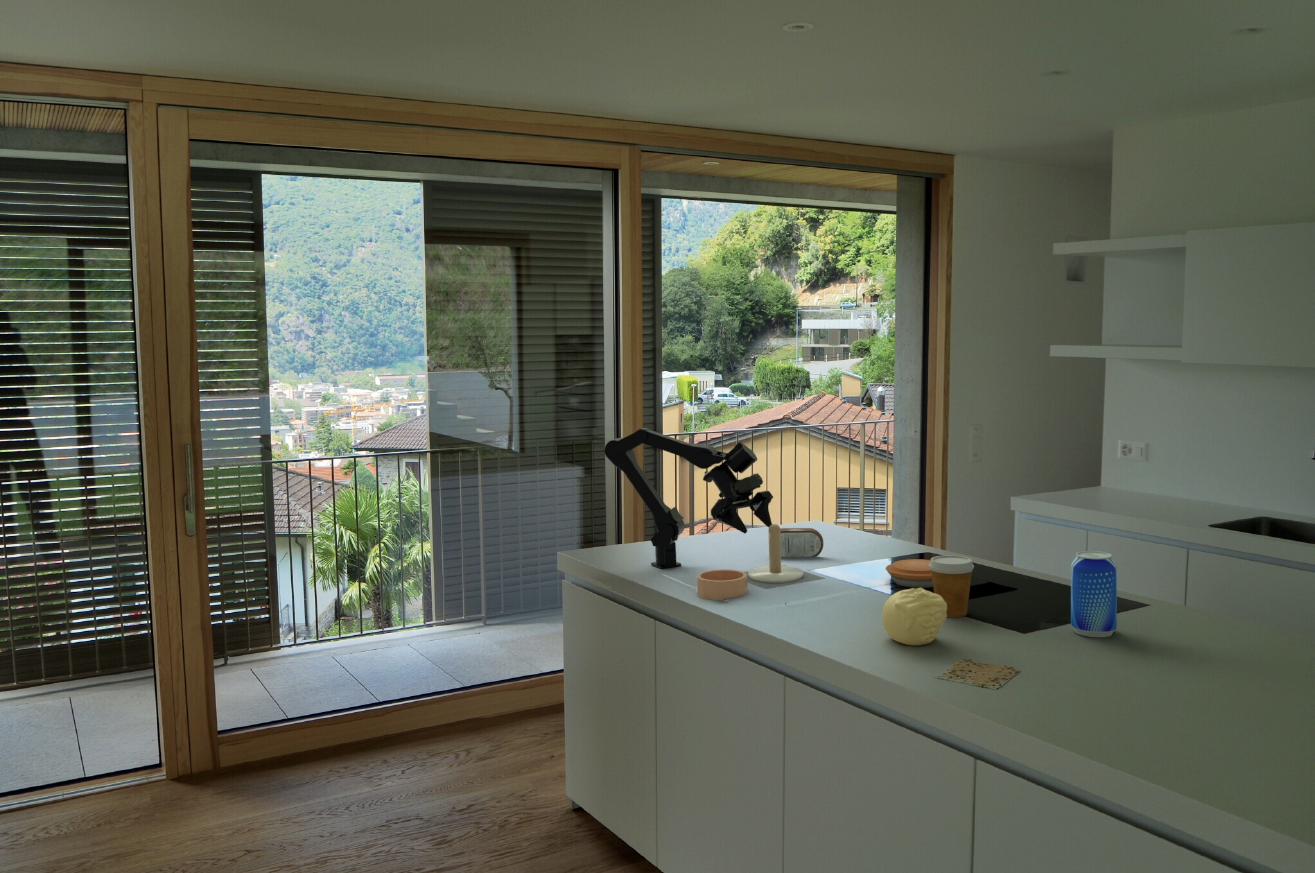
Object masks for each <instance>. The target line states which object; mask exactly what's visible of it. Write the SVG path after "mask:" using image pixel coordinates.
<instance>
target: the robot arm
mask: <svg viewBox="0 0 1315 873" xmlns="http://www.w3.org/2000/svg"><path fill="white" fill-rule="evenodd" d="M643 444H644V445H647V446H649V447H653V448H656V449H659V450H661V451H664V452H667V453H670V454H673V455H676V456H679V457H681V458H683V459H684V460H685V461H687V462H688V463H690V464H691V465H693V466H695V467H696V468H698V469H702V470H705V471H704V474H703V477H702V481H704V482H707V483H709V484H710V483H712V482H713V483H714V485H715V486H716V487H717V489H718V491H719V492H720V493H719V494H718V499H717V501H716V502H715V503H714V505H713V506H712V507H711V509H710V516H711V517H712V519H713V520H714V521H717V520H718V521H719V522H722V523H725V524H727V525H728V526H731V527H732V528H734V529H736V530H738V531H739V532H741V533H742V534H747V532H748V529H747V527H746V525H745V523H744V522H743V520H742V518H741V517H740V515H739V514H738V513H739V512H738V510H740V509H745V508H746V509H747V508H749V509H750V510H751V511H753V513H752V514H753V515H754V516H755V517H757V519H759V521H760V522H762V523H763V524H764V525H765V526H766V528H767V527H768V528H769V526H770V525H772V524H773V523H772V518H771V516H770V510H769V509H770V508H769V505H770V503H772V500H773V498H774V496H773V495H772V492H770V490H763V491H762V490H761V491H757V492H756V493H755V494H754V496H753V497H752V495H753V493H754V491H755V490H756V489H759V488H761V485H763V484H764V481H763V478H762V476H761V475H760V474H759V473H753V474H751V475H750V476H747V477H744V478H740V479H738V478H737V477H736V475H735V474H737V473H739V474H743V473H744V472H746V470H747V469H749V468H750V467H751V466H752V465H754V464H755V463H756V462H757V461H758V457H757V455H756V454H755V452H754V450H752V449H751V448H749V447H748V446H747V445H746V444H744V443H743V442H742V441H738V443H736V444H735V445H734V447H733V448H731V450H730V451H728V452H725V451H720V450H717V448H716V447H715V446H713V445H708V444H702V443H693V442H692V443H691V442H687V441H683V440H682V439H681V440H680V439H677V438H675V437H671V436H669V435H666V434H663V433H660V432H658V431H655V430H651V429H650V428H649V427H642V428H639V429H637V430H636V431H635V432H633V433H631V434H628V435H627V436H625V437H618V438H615V439H612V440H609V441H607V443H606V444H605V446H604V450H603V452H604V455H605V457H606V458H607V459H608V460H609V461H610V462H611V463H612V464H613V465H614V466H615V467H616V468H617V469H619V470H621V472H623V473H624V475H625V476H626V478H627V479H628V480H629V483H631V485H632V486H633V488H634V489H635V491H636V492H637V494H638V495H639V497H640V498H641V499H642V501H643V503H644V504H645V505H646V507H647V509H648V510H649V512H650V513H651V514H652V517H653V522H654V525H655V528H656V530H657V532H656V533H655V534H654V535H653V536H652V537H651V538H650V542H651V545H652V546H653V547H654V548H655V552H654V554H655V561H654V562H653V561H652V562H650V565H652V566H654V567H657V568H658V569H667V568H673V567H679V566H680V567H681V566H682V563H681V562H679V561H677V547H676V545H677V544H676V541H678V539H679V536H680V535H682V534H683V533H684V530H685V526H686V525H685V522H684V518H685V517H684V516H682V514H680V512H679V510H678V508H677V507H676V506H674V507H671V508H670V507H669V506H668V505H667V504H665V502H664V500H663V499H662V498H661V496H660V494H659V493H658V492H657V490H656V489H655V487H654V486H653V485H652V482H651V481H650V479H648V477H647V476H646V474H645V472H644V471H643V470H642V468H641V467H640V466H639V464H638V461H637V458H636V454H635V453H636V452H635V451H634V449H635V448H637V447H639V446H642V445H643ZM718 464H719V465H718ZM714 465H715V466H714ZM712 466H714V467H713V468H711V469H710V470H709V471H706V469H709V468H710V467H712ZM734 473H735V474H734ZM750 497H751V498H750Z"/></svg>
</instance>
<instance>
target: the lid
mask: <svg viewBox="0 0 1315 873" xmlns="http://www.w3.org/2000/svg"><path fill="white" fill-rule="evenodd" d="M780 529H781V528H780V526H779V524H777V523H772V525H770V526H769V527H768V562H769V565H765V566H759V567H754V568H752V569H749V570H748V577H749V579H751V580H753V581H757V582H763V583H786V582H793V581H797V580H800V579H802V578H803V571H804V570H802V569H801V568H799V567H795V566H790V565H786V566H782V557H781V539H780Z"/></svg>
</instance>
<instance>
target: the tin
mask: <svg viewBox="0 0 1315 873" xmlns="http://www.w3.org/2000/svg"><path fill="white" fill-rule="evenodd" d="M780 539H781V558H816V557H819V555H820V554H821V553H822V551H823V549H824V538H823V536H822V534H821V533H820V532H819V531H818V530H816V529H815V528H812V527H811V528H810V527H800V528H799V527H798V528H797V527H791V528H789V527H788V528H787V527H785V528H784V527H783V528H780Z"/></svg>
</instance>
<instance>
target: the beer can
mask: <svg viewBox="0 0 1315 873" xmlns="http://www.w3.org/2000/svg"><path fill="white" fill-rule="evenodd" d="M1075 555H1076V556H1075V558H1074V559H1073V560H1072V562H1071V564H1070V626H1071V627H1072V629H1073V630H1074V632H1075V633H1076V634H1077V635H1080V636H1084V637H1089V638H1090V637H1091V638H1107V637H1111V636H1112V635H1113V633H1114V632H1115V631H1116V629H1117V626H1118V624H1117V620H1118V619H1117V617H1118V616H1117V614H1118V612H1117V609H1118V607H1117V603H1118V602H1117V597H1118V592H1117V591H1118V589H1117V588H1118V578H1117V577H1118V576H1117V575H1118V571H1117V570H1118V567H1117V564H1116V563H1115V561H1114V560H1113V558H1112V557H1113V556H1112V554H1111V553H1108V552H1105V551H1098V550H1097V551H1096V550H1083V551H1077V552H1076V553H1075Z"/></svg>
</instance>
